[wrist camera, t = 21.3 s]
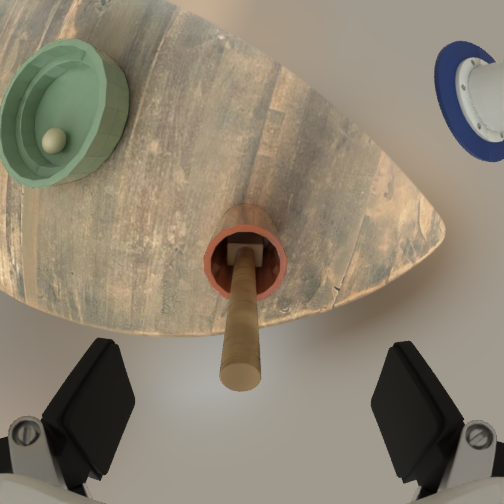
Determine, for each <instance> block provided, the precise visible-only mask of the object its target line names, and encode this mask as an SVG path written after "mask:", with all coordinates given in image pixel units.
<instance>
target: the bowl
mask: <svg viewBox="0 0 504 504" xmlns="http://www.w3.org/2000/svg"><path fill="white" fill-rule="evenodd" d="M128 110H129V89H128V85H127V81H126V77H125V74H124V72H123V71H122V70H121V68H120V67H119V66H118V64H117V63H116V62H115V60H114V59H112V58H111V57H109V56H108V55H106V54H105V53H103V52H101V51H100V50H98V49H97V48H95V47H94V46H92V45H90V44H88V43H86V42H84V41H82V40H79V39H59V40H57V41H54V42H52V43H50V44H47V45H45V46H43V47H42V48H40V49H39V50H38V51H36V52H35V53H34V54H33V55H32V56H30V57H29V58H28V59H27V60H26V61H25V62H24V63H23V65H22V66H21V67H20V68H19V70H18V71H17V72H16V74H15V75H14V76H13V78H12V80H11V82H10V84H9V86H8V88H7V90H6V92H5V94H4V97H3V100H2V103H1V107H0V158H1V160H2V162H3V164H4V166H5V168H6V170H7V172H8V173H9V174H10V175H11V176H12V177H13V178H14V179H15V180H16V181H17V182H18V183H19V184H22V185H25V186H28V187H31V188H40V187H47V186H53V185H58V184H63V183H68V182H73V181H78V180H80V179H82V178H84V177H85V176H87V175H89V174H91V173H93V172H94V171H95V170H96V169H97V168H98V167H99V166H100V165H101V164H102V163H103V162H104V161H105V160H106V159H107V158H108V157H109V156H110V155H111V153H112V151H113V149H114V148H115V146H116V144H117V143H118V141H119V139H120V138H121V136H122V133H123V129H124V126H125V123H126V120H127V117H128ZM52 128H60V129H62V130H63V131H64V133H65V135H66V144H65V146H64V148H63V149H62V150H61V151H60V152H58V153H56V154H48V153H47V152H45V151H44V149H43V147H42V139H43V136H44V134H45V133H46V132H47V131H48V130H49V129H52Z"/></svg>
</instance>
